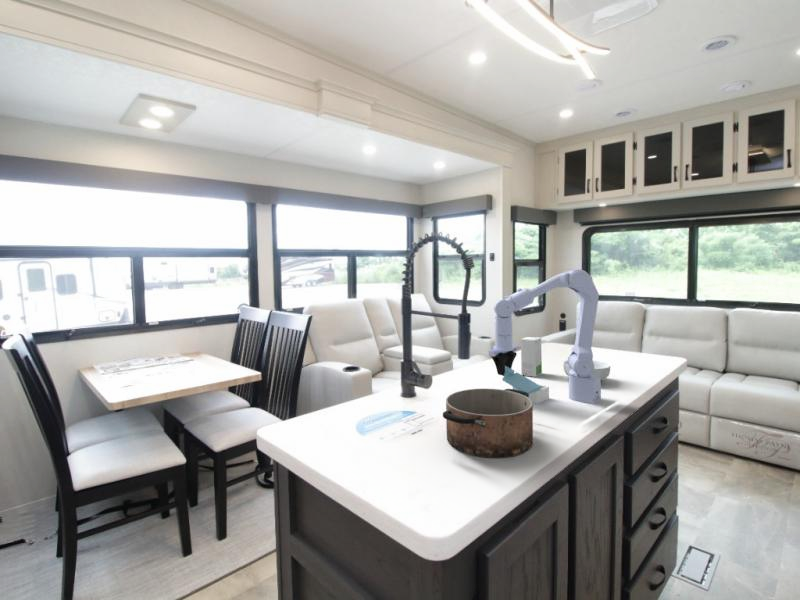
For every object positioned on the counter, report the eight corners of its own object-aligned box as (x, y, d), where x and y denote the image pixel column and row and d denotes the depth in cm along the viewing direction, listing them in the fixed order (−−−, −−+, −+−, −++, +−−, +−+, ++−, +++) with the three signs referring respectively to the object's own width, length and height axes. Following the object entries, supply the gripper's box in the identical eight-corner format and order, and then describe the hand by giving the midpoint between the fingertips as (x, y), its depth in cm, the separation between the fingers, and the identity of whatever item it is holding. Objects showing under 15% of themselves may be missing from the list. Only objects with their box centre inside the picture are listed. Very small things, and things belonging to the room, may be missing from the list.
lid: (540, 388, 136) (542, 382, 136) (526, 395, 131) (528, 388, 130) (506, 369, 146) (508, 363, 145) (492, 374, 140) (494, 367, 139)
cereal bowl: (618, 386, 153) (618, 368, 152) (573, 387, 153) (573, 369, 153) (597, 375, 170) (597, 358, 169) (557, 376, 170) (557, 359, 170)
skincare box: (535, 377, 168) (535, 340, 167) (520, 375, 172) (519, 338, 171) (542, 373, 175) (542, 337, 174) (527, 371, 179) (526, 336, 178)
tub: (549, 399, 139) (549, 386, 139) (536, 405, 134) (536, 391, 133) (525, 394, 146) (525, 381, 145) (512, 399, 140) (512, 386, 140)
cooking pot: (488, 415, 127) (487, 381, 127) (556, 435, 111) (556, 396, 110) (419, 444, 107) (418, 404, 107) (489, 474, 91) (489, 427, 90)
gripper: (505, 331, 148) (506, 368, 149) (481, 336, 139) (481, 375, 140) (523, 332, 143) (523, 371, 144) (498, 338, 133) (499, 379, 134)
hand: (504, 373), depth 141 cm, fingers closed on lid, 3 cm apart
